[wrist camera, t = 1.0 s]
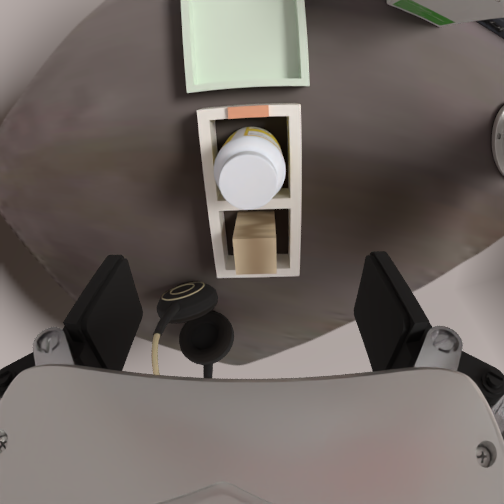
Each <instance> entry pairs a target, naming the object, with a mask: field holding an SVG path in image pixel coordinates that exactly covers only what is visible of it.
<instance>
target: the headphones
mask: <svg viewBox="0 0 504 504" xmlns="http://www.w3.org/2000/svg"><path fill="white" fill-rule="evenodd" d="M217 302H218V296H217V293H216V290H215V289H214V288H213V287H211V286H210V285H207V284H204V283H203V282H191V283H186V284H183V285H180V286H177V287H174V288H172V289H170V290H168V291H167V292H165V293H164V294H163V295H162V297H161V299H160V300H159V302H158V305H157V313H158V315H159V317H160V318H161V319H160V321H159V322H158V325H157V327H156V329H155V331H154V334H153V335H154V337H153V342H152V367H153V374H154V375H160V374H159V368H158V355H157V353H158V352H157V351H158V341H159V338H160V337H161V335H162V333H163V331H164V329H165V327H166V325H167V324H168V323H183V322H186V323H185V325H184V326H183V328H182V330H181V333H180V337H179V343H180V348H181V351H182V353H183V354H184V355H185V357H187V358H188V359H189V360H190V361H192V362H194V363H196V364H201V365H204V378H212V371H213V363H215V362H218V361H219V360H221V359H222V358H223V357H225V356H226V355H227V353H228V352H229V351H230V349H231V347H232V344H233V341H234V332H233V328H232V325H231V323H230V322H229V320H228V319H227V318H226V317H225V316H224V315H222V314H220V313H217V312H213V311H211V310H212V309H213V308H214V307H215V306H216V304H217Z"/></svg>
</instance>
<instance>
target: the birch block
mask: <svg viewBox="0 0 504 504" xmlns="http://www.w3.org/2000/svg"><path fill="white" fill-rule="evenodd" d="M233 249H234V259H235V269H236V275H242V274H277V259H276V229H275V215H274V211H249V212H238V213H237V218H236V224H235V229H234V234H233Z"/></svg>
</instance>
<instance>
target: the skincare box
mask: <svg viewBox="0 0 504 504" xmlns="http://www.w3.org/2000/svg"><path fill="white" fill-rule="evenodd" d="M387 4H388V5H391V6H393V7H396V8H399V9H401V10H403V11H405V12H408V13H410V14H413V15H415V16H417V17H420V18H422V19H424V20H426V21H428V22H430V23H432V24H434V25H436V26H438V27H445V26H450V25H455V24H461V23H466V22H472V21H479V20H486V19H495V18H504V0H387Z"/></svg>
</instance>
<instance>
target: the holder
mask: <svg viewBox="0 0 504 504" xmlns="http://www.w3.org/2000/svg"><path fill="white" fill-rule="evenodd" d="M269 116H287V151H288V188H281V189H280V190H279V191H278V193H277V194H276V195H275V196H273V198H272V199H271V200H270V201H269V202H268V203H267V204H266V205H264V206H262V207H260V208H257V209H288V254H276V259H277V274H242V275H236V269H235V259H234V255H228V247H227V238H226V229H225V220H224V211H230V210H245V209H240V208H237V207H235V206H233V205H231V204H230V203H229V202H227V201H226V200H225V198H224V197H223V195H222V194H221V191H220V189H219V187H218V186H217V184H216V181H215V178H214V163H215V159H216V157H217V154H218V149H217V138H216V127H215V120H218V119H235V118H252V117H269ZM197 119H198V129H199V139H200V149H201V158H202V167H203V175H204V184H205V192H206V200H207V208H208V216H209V223H210V231H211V238H212V245H213V252H214V259H215V266H216V273H217V278H249V277H286V276H299V272H300V245H301V195H302V148H301V105H300V104H298V103H271V104H247V105H232V106H220V107H209V108H202V109H199V110H197ZM253 210H255V209H253Z"/></svg>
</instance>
